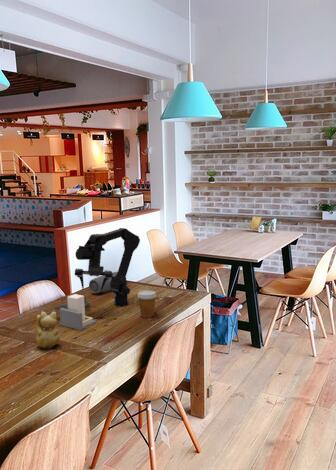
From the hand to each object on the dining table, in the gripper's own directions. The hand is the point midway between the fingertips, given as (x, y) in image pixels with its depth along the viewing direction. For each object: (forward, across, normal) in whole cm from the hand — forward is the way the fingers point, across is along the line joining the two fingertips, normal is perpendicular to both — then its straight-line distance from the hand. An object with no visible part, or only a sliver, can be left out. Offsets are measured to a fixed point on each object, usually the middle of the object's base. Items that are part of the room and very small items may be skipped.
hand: (92, 289), depth 215 cm
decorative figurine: (+19, -18, -34) cm, 43 cm away
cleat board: (+15, -6, -11) cm, 19 cm away
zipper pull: (+14, -8, +7) cm, 17 cm away
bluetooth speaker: (+8, +11, +40) cm, 43 cm away
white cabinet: (+14, -6, -12) cm, 19 cm away
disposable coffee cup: (+10, +28, -8) cm, 31 cm away
